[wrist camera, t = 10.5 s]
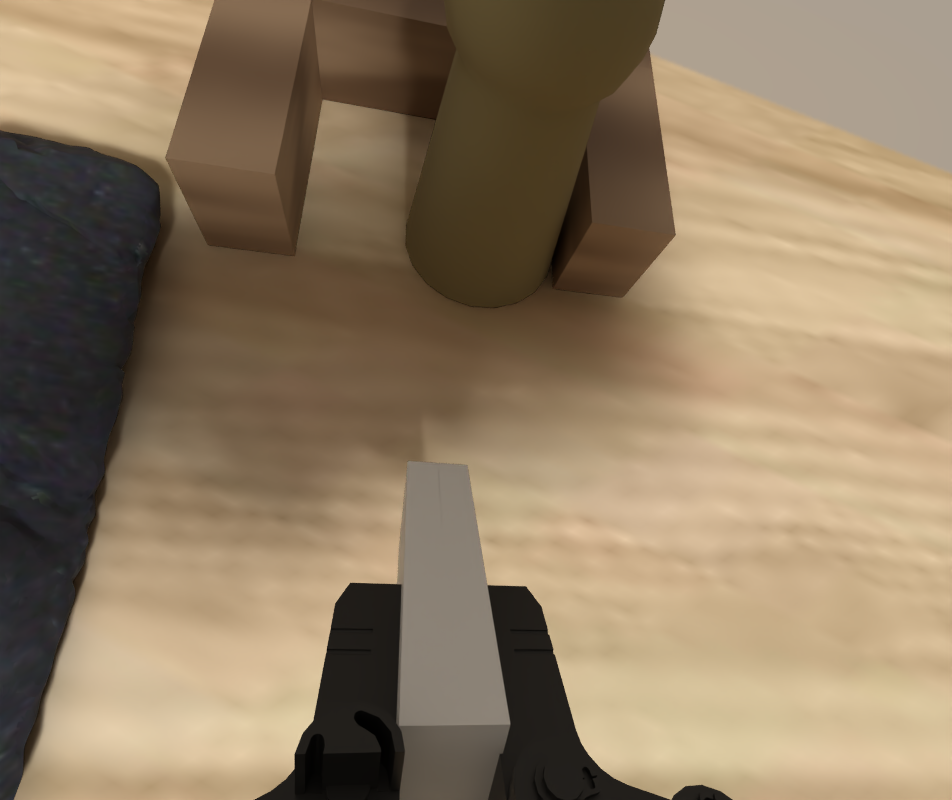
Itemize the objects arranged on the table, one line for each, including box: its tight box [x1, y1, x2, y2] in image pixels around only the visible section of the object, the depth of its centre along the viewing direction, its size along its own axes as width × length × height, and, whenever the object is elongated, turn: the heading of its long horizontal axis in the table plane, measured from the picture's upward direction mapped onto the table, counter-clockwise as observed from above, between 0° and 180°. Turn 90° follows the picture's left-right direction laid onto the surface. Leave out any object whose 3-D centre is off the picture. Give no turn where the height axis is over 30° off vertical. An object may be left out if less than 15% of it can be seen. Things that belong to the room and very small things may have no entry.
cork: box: [406, 0, 665, 308], centre depth 15 cm, size 6×6×11 cm
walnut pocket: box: [165, 0, 676, 297], centre depth 20 cm, size 11×16×4 cm
